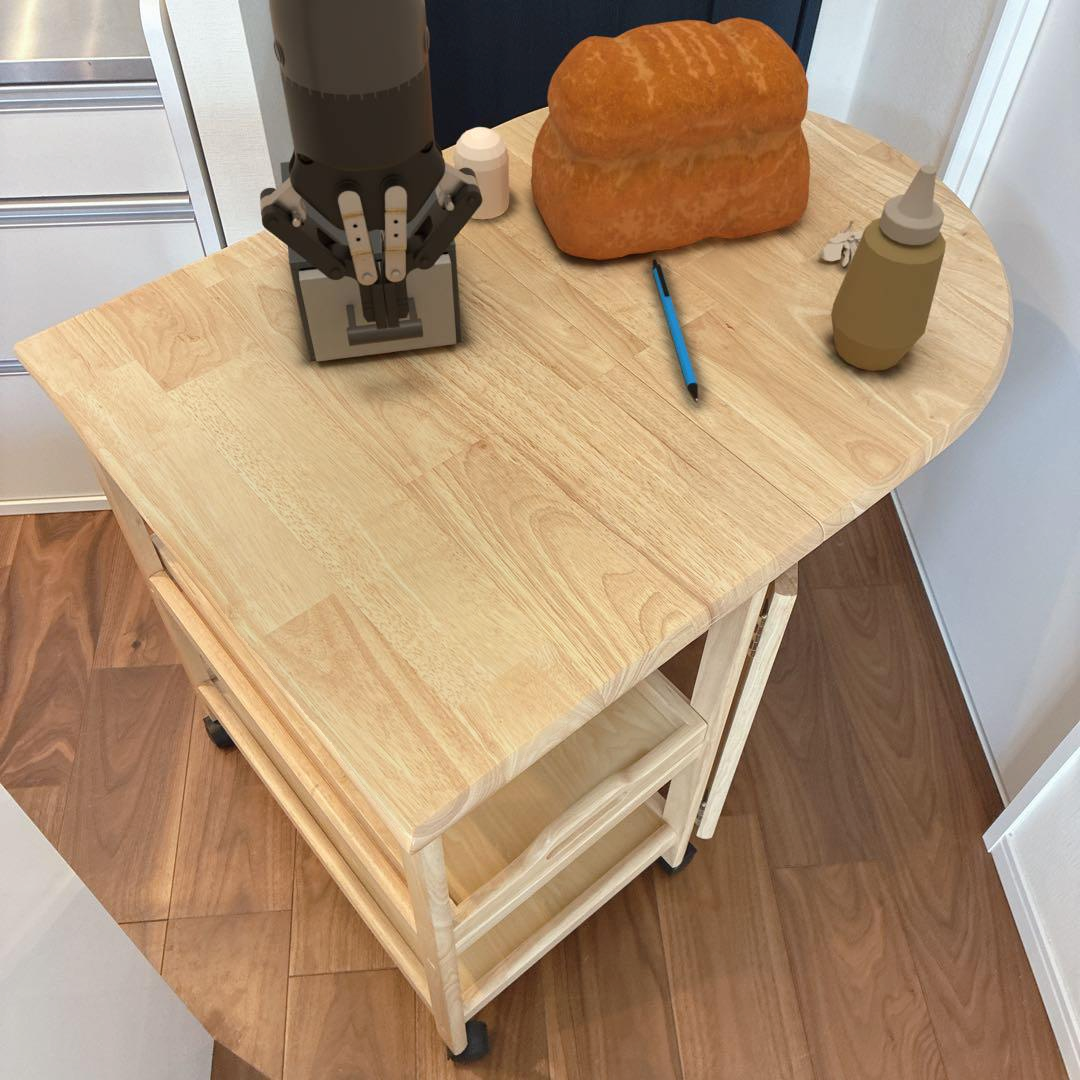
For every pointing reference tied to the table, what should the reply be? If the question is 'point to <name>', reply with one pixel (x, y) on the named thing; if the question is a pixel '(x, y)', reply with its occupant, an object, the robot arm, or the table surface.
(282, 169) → the cabinet
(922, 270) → the squeeze bottle
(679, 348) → the pen
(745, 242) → the table surface
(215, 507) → the table surface
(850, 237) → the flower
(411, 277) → the drawer
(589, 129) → the bread
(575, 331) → the table surface
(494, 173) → the white domed cylinder
